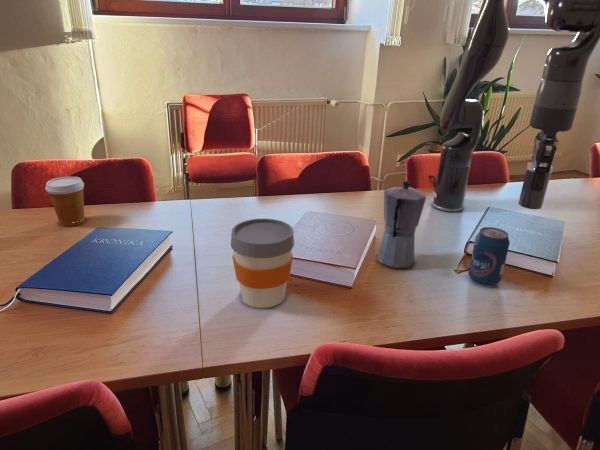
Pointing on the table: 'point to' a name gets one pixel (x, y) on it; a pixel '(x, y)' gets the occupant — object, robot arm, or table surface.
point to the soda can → (489, 256)
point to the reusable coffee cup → (262, 260)
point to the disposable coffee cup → (67, 199)
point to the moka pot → (400, 225)
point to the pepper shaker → (533, 197)
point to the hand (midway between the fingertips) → (534, 186)
